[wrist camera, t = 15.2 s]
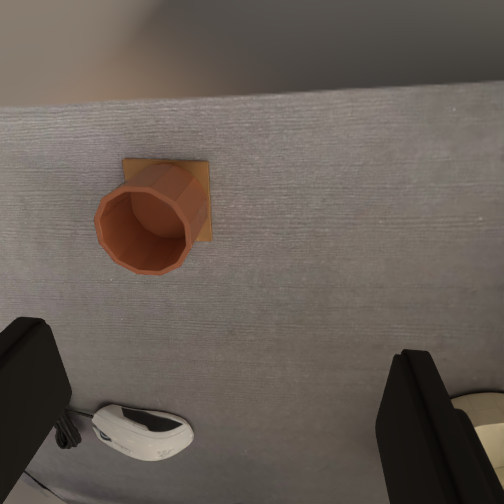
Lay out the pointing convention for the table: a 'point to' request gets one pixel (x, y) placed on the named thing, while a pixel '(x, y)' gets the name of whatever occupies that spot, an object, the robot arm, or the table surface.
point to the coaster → (192, 166)
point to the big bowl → (487, 424)
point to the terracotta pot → (152, 219)
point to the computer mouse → (130, 432)
